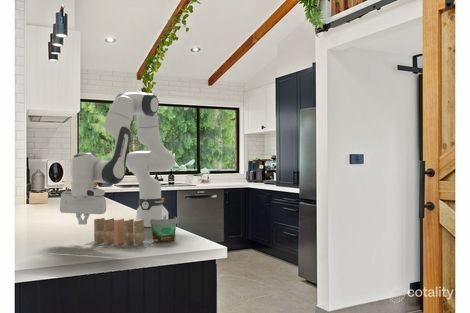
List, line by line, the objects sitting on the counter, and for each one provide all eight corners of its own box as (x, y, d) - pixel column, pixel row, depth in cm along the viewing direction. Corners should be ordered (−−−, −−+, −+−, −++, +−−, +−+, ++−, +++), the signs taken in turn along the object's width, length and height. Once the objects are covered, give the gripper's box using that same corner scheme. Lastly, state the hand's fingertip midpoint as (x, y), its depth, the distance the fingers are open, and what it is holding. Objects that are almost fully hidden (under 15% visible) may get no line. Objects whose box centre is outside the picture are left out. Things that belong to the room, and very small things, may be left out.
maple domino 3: (124, 245, 165) (123, 220, 165) (130, 242, 170) (130, 218, 170) (127, 245, 165) (127, 220, 165) (133, 243, 170) (133, 218, 170)
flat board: (97, 240, 177) (97, 239, 177) (153, 243, 170) (153, 242, 170) (83, 245, 167) (83, 244, 167) (142, 249, 161) (142, 248, 161)
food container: (156, 245, 167) (156, 220, 167) (149, 243, 172) (149, 219, 172) (183, 241, 174) (183, 218, 174) (176, 239, 179) (176, 216, 179)
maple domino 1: (94, 243, 169) (94, 219, 169) (101, 241, 174) (101, 217, 174) (97, 244, 168) (97, 219, 168) (104, 241, 173) (104, 217, 173)
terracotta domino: (114, 244, 167) (114, 220, 167) (120, 242, 171) (120, 218, 171) (117, 245, 166) (117, 220, 166) (124, 242, 171) (123, 218, 171)
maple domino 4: (134, 246, 164) (134, 221, 164) (140, 243, 169) (140, 219, 169) (137, 246, 164) (137, 221, 164) (143, 243, 169) (143, 219, 169)
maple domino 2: (104, 244, 168) (104, 219, 168) (110, 241, 173) (110, 218, 173) (107, 244, 167) (107, 219, 167) (114, 242, 172) (114, 218, 172)
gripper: (56, 191, 173) (56, 224, 172) (99, 192, 167) (99, 226, 167) (66, 190, 179) (66, 222, 179) (108, 191, 174) (108, 223, 174)
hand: (82, 224), depth 173 cm, fingers closed
